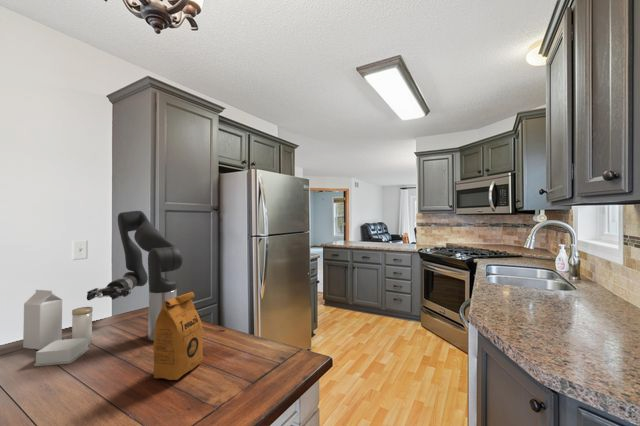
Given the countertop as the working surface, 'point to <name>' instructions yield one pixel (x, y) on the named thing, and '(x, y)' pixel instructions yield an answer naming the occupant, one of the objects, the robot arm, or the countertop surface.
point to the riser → (61, 352)
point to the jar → (82, 323)
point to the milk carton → (42, 320)
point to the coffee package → (177, 338)
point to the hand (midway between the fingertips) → (100, 297)
